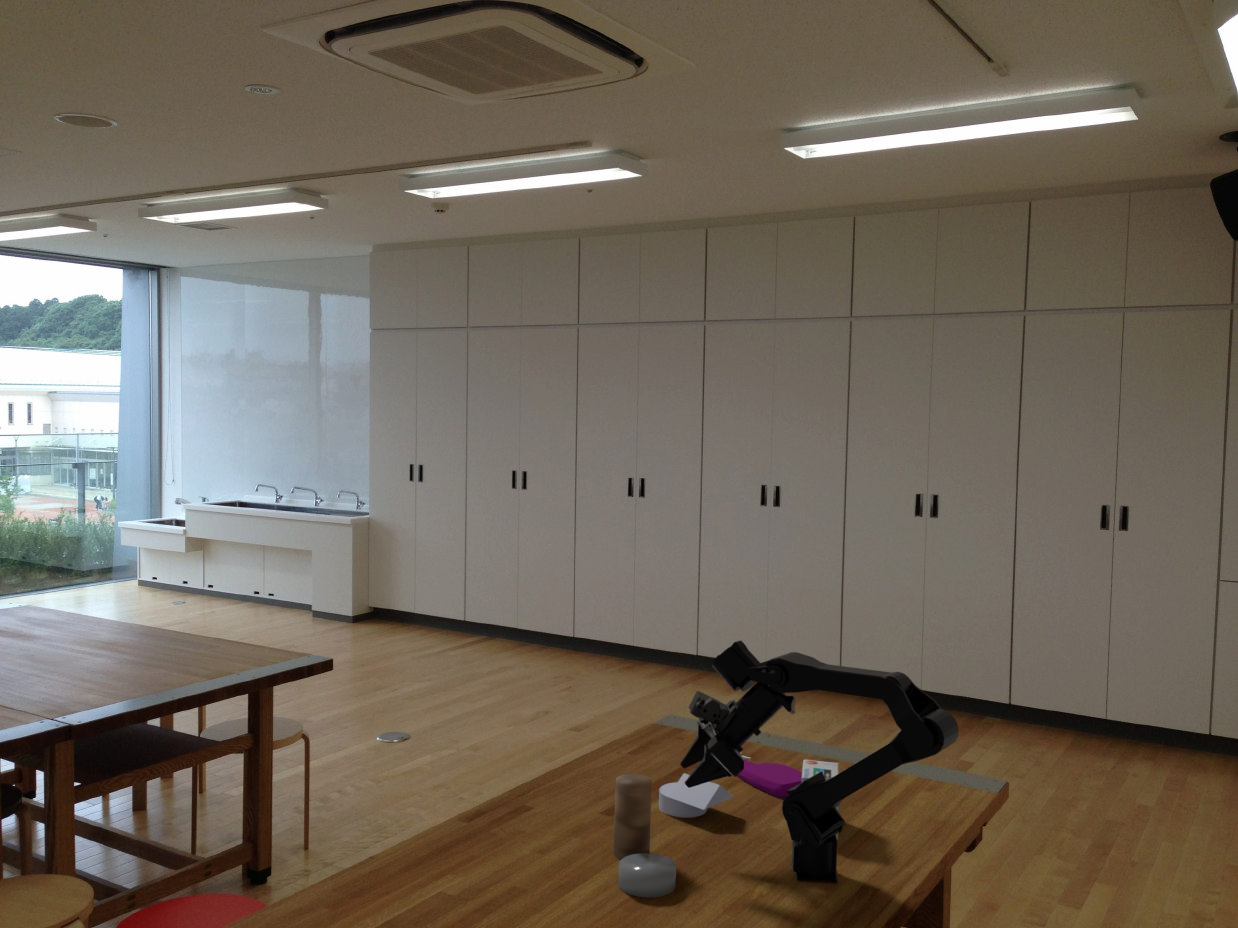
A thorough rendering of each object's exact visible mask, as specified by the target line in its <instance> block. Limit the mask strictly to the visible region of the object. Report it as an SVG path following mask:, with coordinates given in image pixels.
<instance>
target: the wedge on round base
mask: <svg viewBox="0 0 1238 928" xmlns="http://www.w3.org/2000/svg"><path fill="white" fill-rule="evenodd" d="M689 776H690V774H687V773H682V775H681V777H680V778H679V780H678V781H677V782H676V781H675V782H669V783H665V784H663V785H661V786H660V787H659V789H658V794H659V795H658V809H659V811H660V812H661V813H663V812H664V813H663V814H665V815H667V814H668V815H667V816H670V815H671V817H674V816H675V817H676V818H686V819H687V818H696V817H699V816H703V815H705V814H706V813H707V811H708V809H710V808H712V807H714V806H716V805H719V804H722V803H723V802H726V801H728V800H731V799H733V798H735V796H733V794H731V793H730V792H729V791H727V790H726V789H725V788H724V787H723V786H722V785H720V784H717V783H715V782H712V781H709V782H706V783H703V784H700V785H697V786H694V787H691V788H688V787H687V786H686V785H685V781H686V780H687V778H688V777H689Z"/></svg>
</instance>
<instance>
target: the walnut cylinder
mask: <svg viewBox="0 0 1238 928" xmlns="http://www.w3.org/2000/svg"><path fill="white" fill-rule="evenodd" d="M614 789H615V792H614V793H615V797H614V828H613V829H614V834H613V836H614V837H613V838H614V839H613V855H614V857H615V858H617V859H619V860H621V859H623V858H624V857H626V856H629V855H633V854H639V853H651V851H650V848H651V847H650V846H651V818H652V817H651V815H652V814H651V813H652V812H651V811H652V778H650V777H648V776H647V775H644V774H638V773H627V774H621V775H619V776H617V777H616V778H615V788H614Z"/></svg>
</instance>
